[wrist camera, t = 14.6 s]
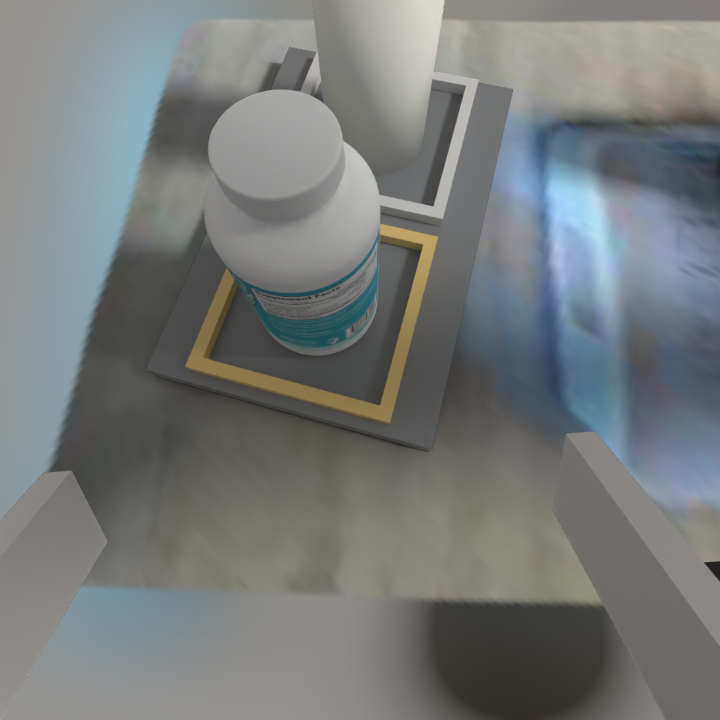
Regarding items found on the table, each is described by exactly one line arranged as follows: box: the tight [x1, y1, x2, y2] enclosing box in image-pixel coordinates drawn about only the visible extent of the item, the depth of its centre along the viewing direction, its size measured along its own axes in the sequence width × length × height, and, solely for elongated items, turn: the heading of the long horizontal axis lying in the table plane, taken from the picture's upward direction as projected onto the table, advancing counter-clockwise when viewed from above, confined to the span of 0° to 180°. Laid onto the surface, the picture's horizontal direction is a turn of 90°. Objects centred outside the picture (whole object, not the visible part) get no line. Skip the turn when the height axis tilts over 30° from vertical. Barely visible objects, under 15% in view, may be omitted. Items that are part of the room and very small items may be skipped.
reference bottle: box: [312, 0, 444, 176], centre depth 25 cm, size 7×7×14 cm
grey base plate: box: [146, 47, 513, 452], centre depth 30 cm, size 18×28×2 cm, turn 164°
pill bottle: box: [204, 90, 380, 356], centre depth 21 cm, size 8×7×14 cm
